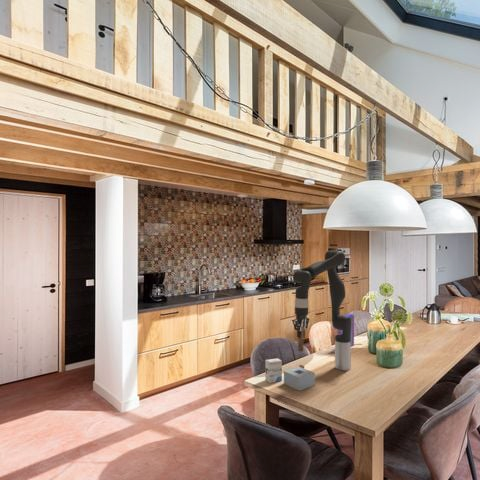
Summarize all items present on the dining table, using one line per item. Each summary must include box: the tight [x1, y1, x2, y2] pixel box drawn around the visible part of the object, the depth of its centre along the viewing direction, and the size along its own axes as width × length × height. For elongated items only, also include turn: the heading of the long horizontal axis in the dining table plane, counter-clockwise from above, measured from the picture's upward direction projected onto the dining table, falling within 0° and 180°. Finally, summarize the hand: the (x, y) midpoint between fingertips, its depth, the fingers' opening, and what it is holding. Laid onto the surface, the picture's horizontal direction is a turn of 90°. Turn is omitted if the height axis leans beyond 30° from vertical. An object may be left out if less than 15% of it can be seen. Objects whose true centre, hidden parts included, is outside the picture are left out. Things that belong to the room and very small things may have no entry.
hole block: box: [283, 366, 316, 392], centre depth 196 cm, size 12×12×7 cm
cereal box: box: [336, 313, 355, 348], centre depth 267 cm, size 17×5×24 cm, turn 136°
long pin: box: [297, 326, 305, 352], centre depth 197 cm, size 3×3×14 cm
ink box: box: [264, 357, 283, 384], centre depth 202 cm, size 8×5×12 cm, turn 111°
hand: (300, 337), depth 197 cm, fingers closed on long pin, 3 cm apart
